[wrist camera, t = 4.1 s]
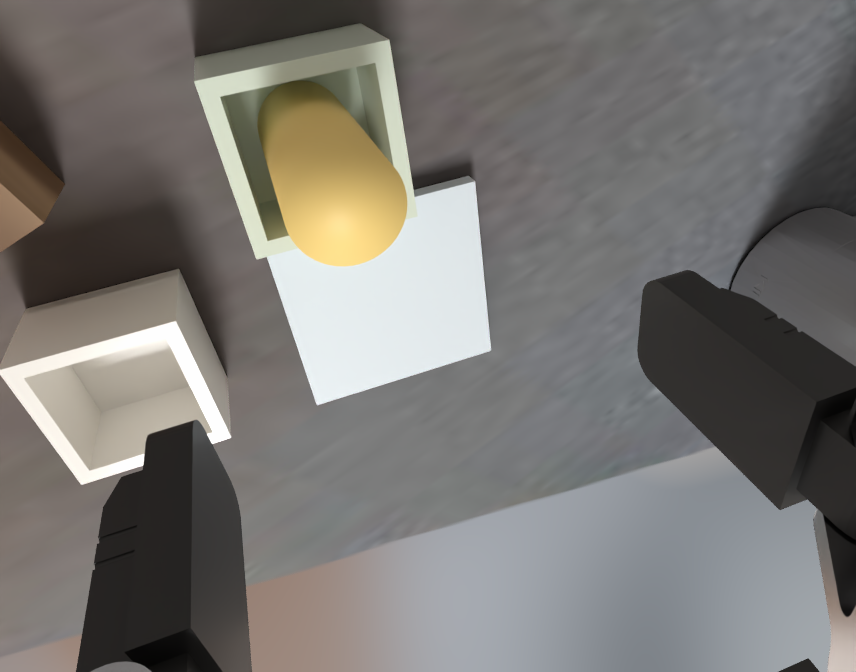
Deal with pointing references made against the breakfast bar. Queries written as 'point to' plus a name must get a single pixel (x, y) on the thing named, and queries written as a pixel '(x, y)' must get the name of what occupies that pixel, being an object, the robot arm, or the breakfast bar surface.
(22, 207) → the walnut block
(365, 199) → the peg
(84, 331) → the pot white
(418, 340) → the thin white panel
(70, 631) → the breakfast bar surface
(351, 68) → the pot green
